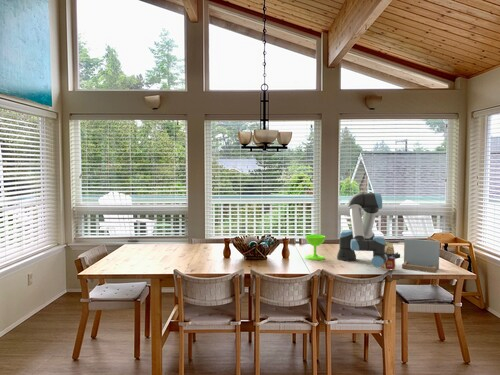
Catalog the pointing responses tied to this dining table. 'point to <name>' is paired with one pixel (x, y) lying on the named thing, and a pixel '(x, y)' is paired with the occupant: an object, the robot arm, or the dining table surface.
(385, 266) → the milk carton
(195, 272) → the dining table surface
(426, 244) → the wall board
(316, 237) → the wineglass
